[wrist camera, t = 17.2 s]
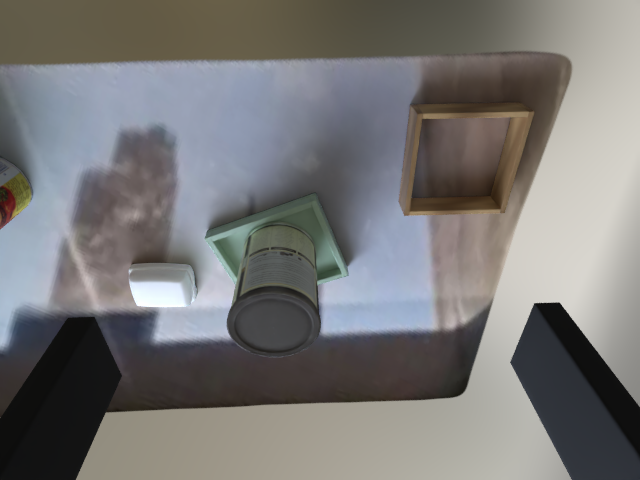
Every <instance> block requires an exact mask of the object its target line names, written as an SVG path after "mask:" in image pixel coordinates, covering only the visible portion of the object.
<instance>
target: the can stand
mask: <svg viewBox="0 0 640 480" xmlns="http://www.w3.org/2000/svg"><path fill="white" fill-rule="evenodd" d="M534 112H535V111H533V110H532V109H530V108H528V107H527V106H525V105H523V104H522V103H520V102H516V103H515V102H511V103H458V104H416V105H415V104H410V111H409V119H408V128H407V136H406V144H405V153H404V161H403V170H402V178H401V186H400V195H399V204H400V206H401V209H402V211H403V214H404V216H409V215H448V214H487V213H505V210H506V206H507V203H508V200H509V196H510V193H511V189H512V186H513V183H514V179H515V176H516V173H517V169H518V166H519V163H520V159H521V156H522V152H523V149H524V146H525V142H526V139H527V136H528V132H529V129H530V126H531V122H532V119H533V115H534ZM493 117H511V120H510V124H509V128H508V131H507V135H506V139H505V143H504V146H503V150H502V154H501V158H500V162H499V165H498V169H497V173H496V177H495V180H494V184H493V188H492V192H491V195H490V196H471V197H431V198H411V196H412V189H413V182H414V175H415V168H416V160H417V153H418V146H419V139H420V131H421V124H422V119H443V118H493Z"/></svg>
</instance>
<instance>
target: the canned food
mask: <svg viewBox="0 0 640 480" xmlns="http://www.w3.org/2000/svg"><path fill="white" fill-rule="evenodd" d="M31 199H32V189H31V185H30V183H29V181H28V179H27V178H26V176H25V175H24V174H23V173H22V171H21V170H19V169H18V168H17V167H16V166H15V165H14V164H12V163H10V162H9V161H7V160H5V159H3V158H1V157H0V229H1V228H2V227H4V226H5V225H6V224H7V223H8V222H9V221H11V220H12V219H13V218H14V217H15V216H16V215H18V214H19V213H20V212H21V211H22V210H23V209H25V208H26V207H27V206H28V205H29V203H30V202H31Z"/></svg>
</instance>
